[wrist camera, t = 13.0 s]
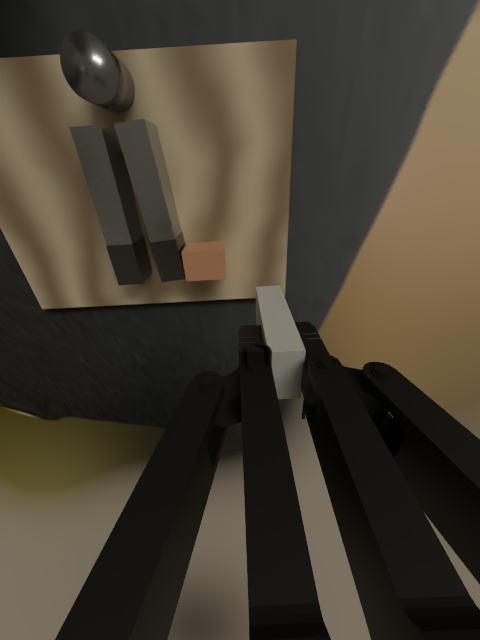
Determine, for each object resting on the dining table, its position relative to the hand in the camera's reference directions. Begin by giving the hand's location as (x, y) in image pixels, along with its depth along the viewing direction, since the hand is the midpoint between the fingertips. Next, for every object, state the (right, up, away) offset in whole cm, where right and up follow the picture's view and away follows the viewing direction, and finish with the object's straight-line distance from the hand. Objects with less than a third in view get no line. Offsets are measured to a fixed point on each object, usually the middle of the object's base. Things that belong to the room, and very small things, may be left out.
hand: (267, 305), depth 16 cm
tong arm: (-9, +10, +9) cm, 17 cm away
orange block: (-5, +6, +12) cm, 14 cm away
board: (-12, +11, +10) cm, 19 cm away
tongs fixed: (-12, +12, +8) cm, 19 cm away
